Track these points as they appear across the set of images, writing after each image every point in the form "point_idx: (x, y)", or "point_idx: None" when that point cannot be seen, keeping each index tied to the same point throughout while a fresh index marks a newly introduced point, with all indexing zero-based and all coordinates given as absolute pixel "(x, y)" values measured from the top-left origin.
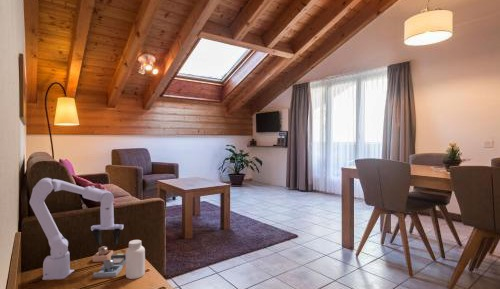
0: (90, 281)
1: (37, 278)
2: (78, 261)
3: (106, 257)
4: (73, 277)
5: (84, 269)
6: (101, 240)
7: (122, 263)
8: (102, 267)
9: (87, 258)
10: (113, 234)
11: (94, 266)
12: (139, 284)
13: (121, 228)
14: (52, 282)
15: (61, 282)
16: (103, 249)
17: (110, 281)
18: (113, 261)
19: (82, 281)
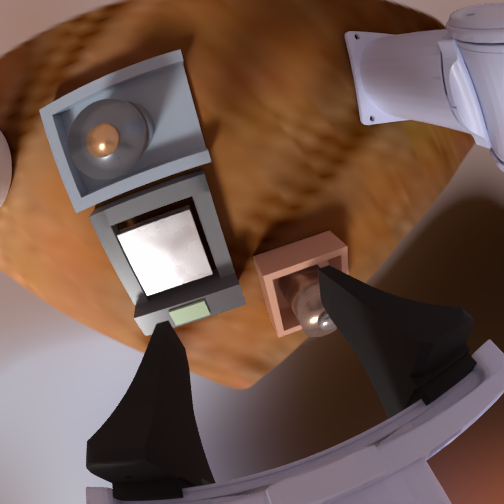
0: (166, 17)
1: None
2: (397, 225)
3: (264, 269)
4: (310, 48)
5: (320, 145)
6: (336, 326)
7: (104, 237)
8: (195, 152)
9: (376, 261)
10: (152, 416)
11: (288, 190)
12: None
13: (91, 500)
14: (368, 9)
15: (328, 2)
16: (311, 304)
17: (48, 57)
18: (171, 234)
19: (218, 10)
